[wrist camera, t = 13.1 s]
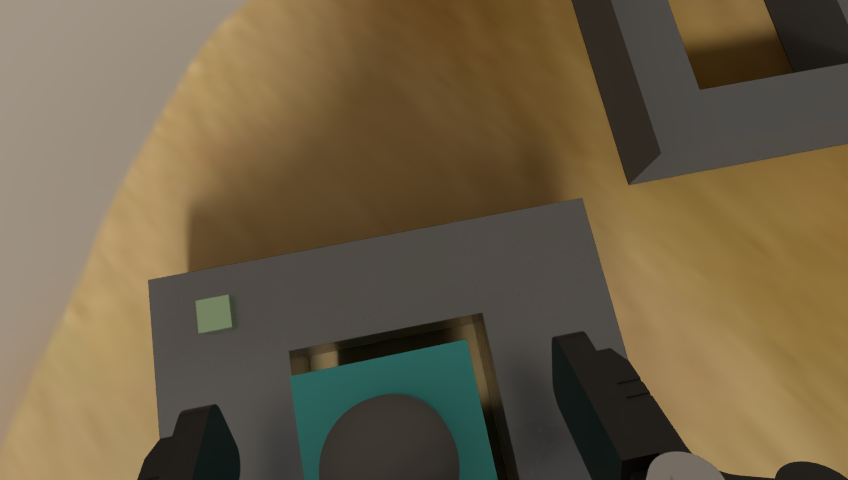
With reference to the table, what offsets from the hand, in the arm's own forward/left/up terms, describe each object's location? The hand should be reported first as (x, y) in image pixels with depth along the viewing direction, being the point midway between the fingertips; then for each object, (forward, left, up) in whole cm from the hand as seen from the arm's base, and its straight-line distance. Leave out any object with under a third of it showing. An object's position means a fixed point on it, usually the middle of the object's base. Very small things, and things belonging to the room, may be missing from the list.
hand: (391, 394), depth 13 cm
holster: (-15, -11, -6) cm, 20 cm away
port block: (0, +1, -6) cm, 6 cm away
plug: (0, +1, -6) cm, 6 cm away
